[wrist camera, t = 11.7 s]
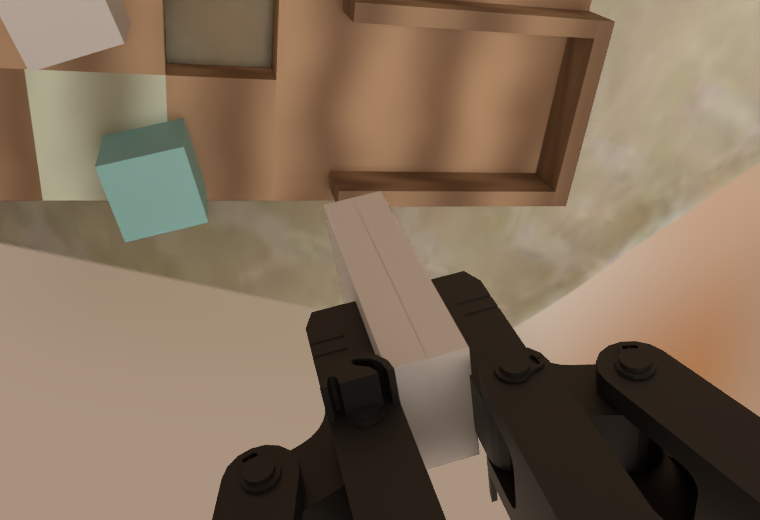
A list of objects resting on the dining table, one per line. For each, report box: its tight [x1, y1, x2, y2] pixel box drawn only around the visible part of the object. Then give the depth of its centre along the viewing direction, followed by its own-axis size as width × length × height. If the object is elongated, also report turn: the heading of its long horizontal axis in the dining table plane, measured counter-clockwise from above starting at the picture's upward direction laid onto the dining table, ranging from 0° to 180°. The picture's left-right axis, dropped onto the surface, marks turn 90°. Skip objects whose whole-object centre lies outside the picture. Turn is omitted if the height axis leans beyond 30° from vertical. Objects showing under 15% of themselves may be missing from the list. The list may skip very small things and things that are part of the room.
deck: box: [0, 0, 614, 207], centre depth 40 cm, size 34×14×6 cm, turn 83°
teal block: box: [95, 118, 208, 243], centre depth 38 cm, size 4×4×4 cm
